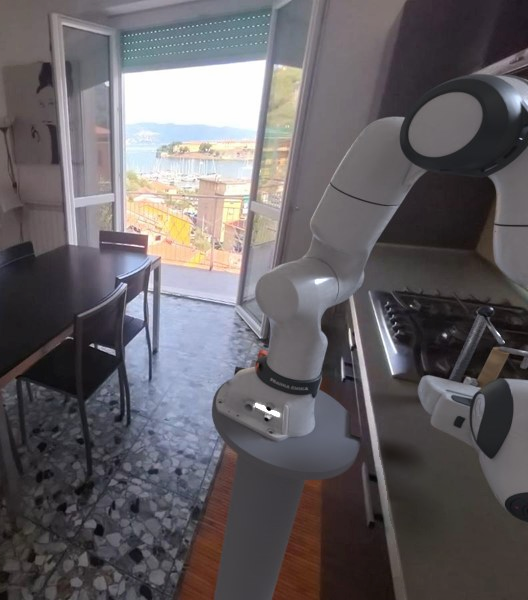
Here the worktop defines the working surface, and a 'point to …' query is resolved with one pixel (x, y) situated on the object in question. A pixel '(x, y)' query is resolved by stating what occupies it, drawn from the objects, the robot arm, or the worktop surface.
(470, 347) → the wood and metal stand
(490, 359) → the wooden post on base
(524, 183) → the robot arm
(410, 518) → the worktop surface
